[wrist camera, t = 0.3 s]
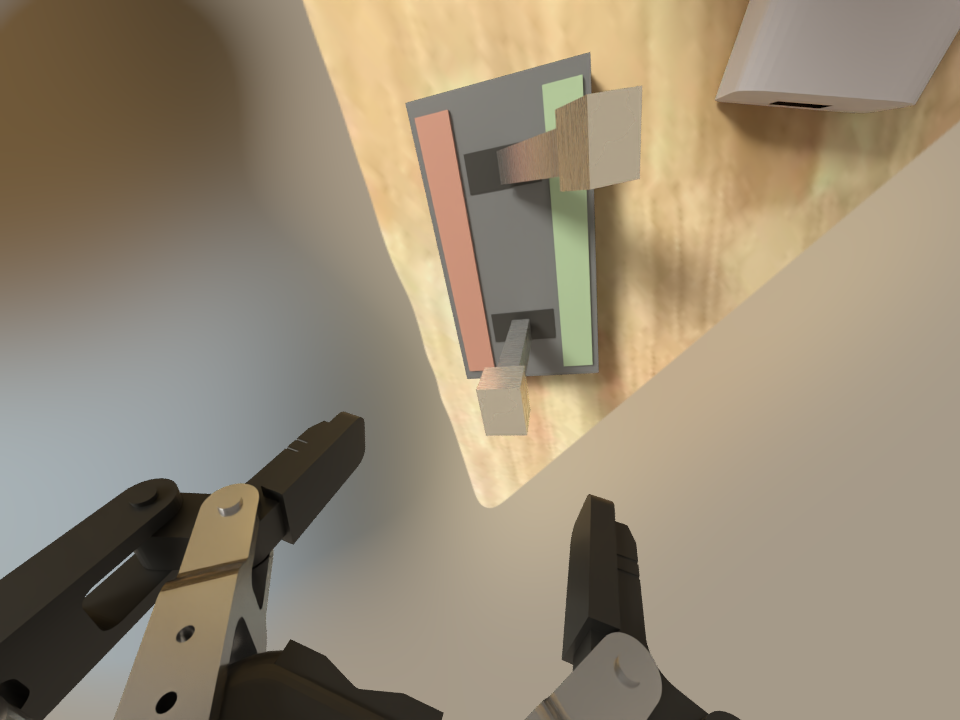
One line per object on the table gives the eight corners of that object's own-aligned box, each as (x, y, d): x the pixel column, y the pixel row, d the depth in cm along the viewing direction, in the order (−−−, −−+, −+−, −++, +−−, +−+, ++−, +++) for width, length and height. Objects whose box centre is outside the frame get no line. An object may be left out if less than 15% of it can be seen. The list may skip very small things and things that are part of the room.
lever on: (495, 195, 24) (590, 189, 14) (487, 141, 23) (587, 94, 13) (527, 189, 25) (639, 178, 15) (521, 135, 23) (642, 85, 13)
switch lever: (510, 348, 30) (485, 435, 20) (505, 313, 29) (476, 389, 19) (538, 346, 29) (527, 435, 20) (534, 311, 28) (520, 387, 18)
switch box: (476, 359, 37) (466, 380, 33) (425, 110, 27) (403, 102, 23) (595, 351, 34) (598, 374, 30) (586, 67, 24) (590, 50, 20)
